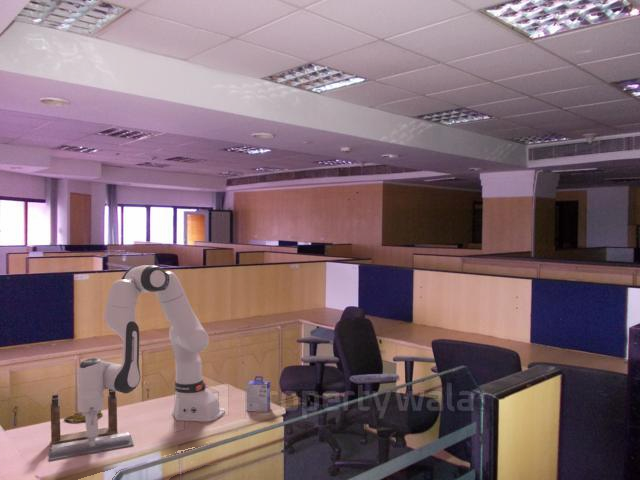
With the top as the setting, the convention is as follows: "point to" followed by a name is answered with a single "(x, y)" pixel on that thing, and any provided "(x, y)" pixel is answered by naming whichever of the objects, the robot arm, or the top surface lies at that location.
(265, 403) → the ink cartridge box
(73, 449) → the rail
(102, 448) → the mat
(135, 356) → the robot arm
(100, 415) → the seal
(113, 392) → the hook stand
